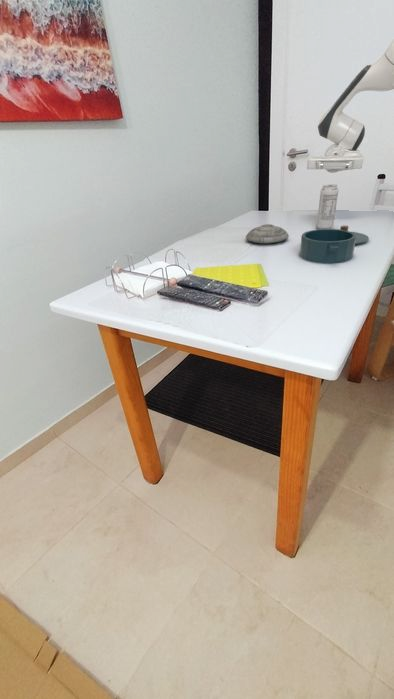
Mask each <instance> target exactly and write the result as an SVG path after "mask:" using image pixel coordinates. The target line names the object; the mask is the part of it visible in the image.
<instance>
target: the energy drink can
mask: <svg viewBox="0 0 394 699" xmlns="http://www.w3.org/2000/svg"><path fill="white" fill-rule="evenodd" d="M338 197H339V188H338V184H333V183H332V184H323V185H322V188H321V189H320V192H319V203H318V211H317V218H316V227H317V230H318V229H333V227H334V224H335V218H336V210H337V205H338V204H337V203H338Z"/></svg>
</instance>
